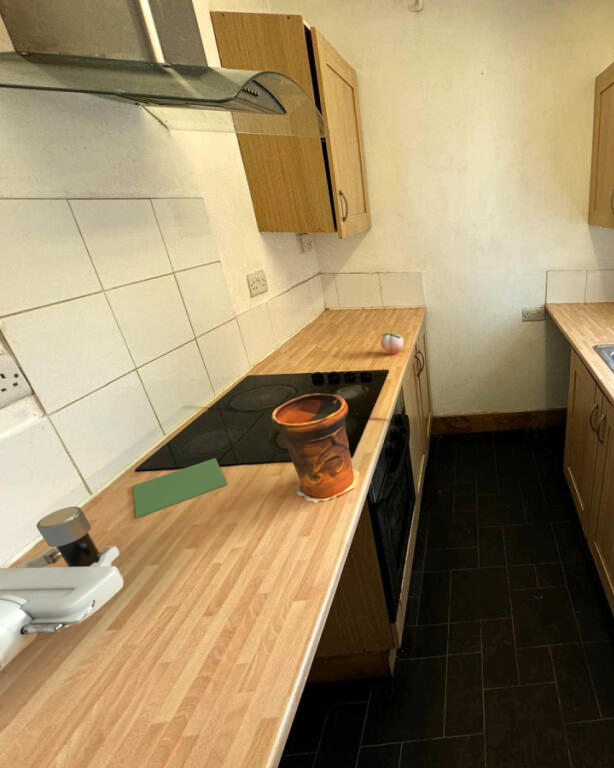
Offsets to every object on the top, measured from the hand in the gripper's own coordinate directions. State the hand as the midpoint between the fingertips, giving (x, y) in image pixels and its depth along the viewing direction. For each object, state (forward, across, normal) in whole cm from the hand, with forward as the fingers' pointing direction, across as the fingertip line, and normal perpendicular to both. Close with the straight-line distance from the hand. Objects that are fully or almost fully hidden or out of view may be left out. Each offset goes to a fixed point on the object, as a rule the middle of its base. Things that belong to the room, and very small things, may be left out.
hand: (86, 550), depth 66 cm
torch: (-1, 0, +8) cm, 9 cm away
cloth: (+27, +7, +8) cm, 29 cm away
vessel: (+26, -27, +9) cm, 39 cm away
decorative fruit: (+113, -21, +9) cm, 115 cm away
